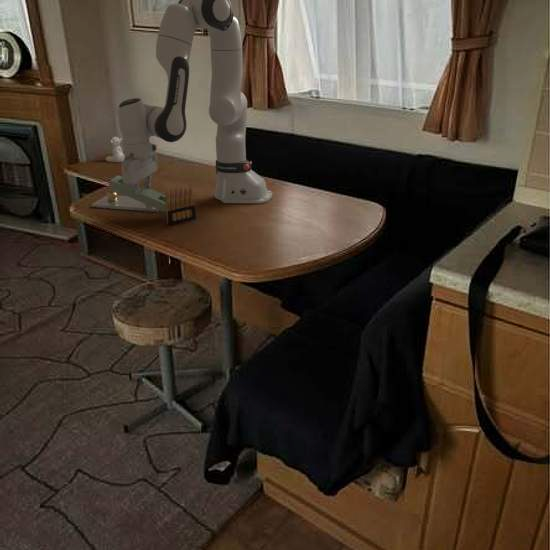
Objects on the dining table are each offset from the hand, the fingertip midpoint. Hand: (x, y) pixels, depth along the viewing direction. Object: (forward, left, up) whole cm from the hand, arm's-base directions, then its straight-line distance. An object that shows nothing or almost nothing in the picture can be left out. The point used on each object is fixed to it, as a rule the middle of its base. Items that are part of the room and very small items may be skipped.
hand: (143, 190), depth 185 cm
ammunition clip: (-13, +1, -10) cm, 17 cm away
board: (+1, 0, -3) cm, 3 cm away
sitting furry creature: (+50, -73, -10) cm, 89 cm away
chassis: (+12, -12, -10) cm, 19 cm away
